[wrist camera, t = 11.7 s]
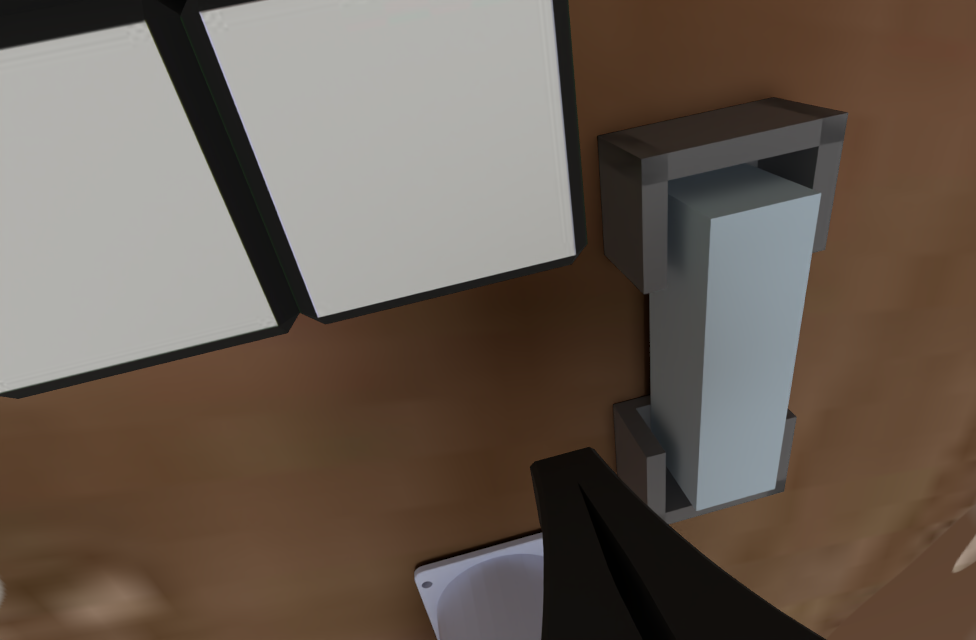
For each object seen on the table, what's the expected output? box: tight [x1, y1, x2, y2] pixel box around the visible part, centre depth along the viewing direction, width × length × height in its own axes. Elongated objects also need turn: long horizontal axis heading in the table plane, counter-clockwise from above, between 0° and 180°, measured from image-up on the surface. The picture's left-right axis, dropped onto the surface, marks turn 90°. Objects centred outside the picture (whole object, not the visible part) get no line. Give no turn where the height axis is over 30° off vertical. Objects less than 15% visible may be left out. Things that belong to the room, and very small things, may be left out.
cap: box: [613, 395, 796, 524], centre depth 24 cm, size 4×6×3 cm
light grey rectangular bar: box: [649, 163, 821, 511], centre depth 20 cm, size 12×3×4 cm, turn 9°
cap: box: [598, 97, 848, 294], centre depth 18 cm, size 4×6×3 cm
